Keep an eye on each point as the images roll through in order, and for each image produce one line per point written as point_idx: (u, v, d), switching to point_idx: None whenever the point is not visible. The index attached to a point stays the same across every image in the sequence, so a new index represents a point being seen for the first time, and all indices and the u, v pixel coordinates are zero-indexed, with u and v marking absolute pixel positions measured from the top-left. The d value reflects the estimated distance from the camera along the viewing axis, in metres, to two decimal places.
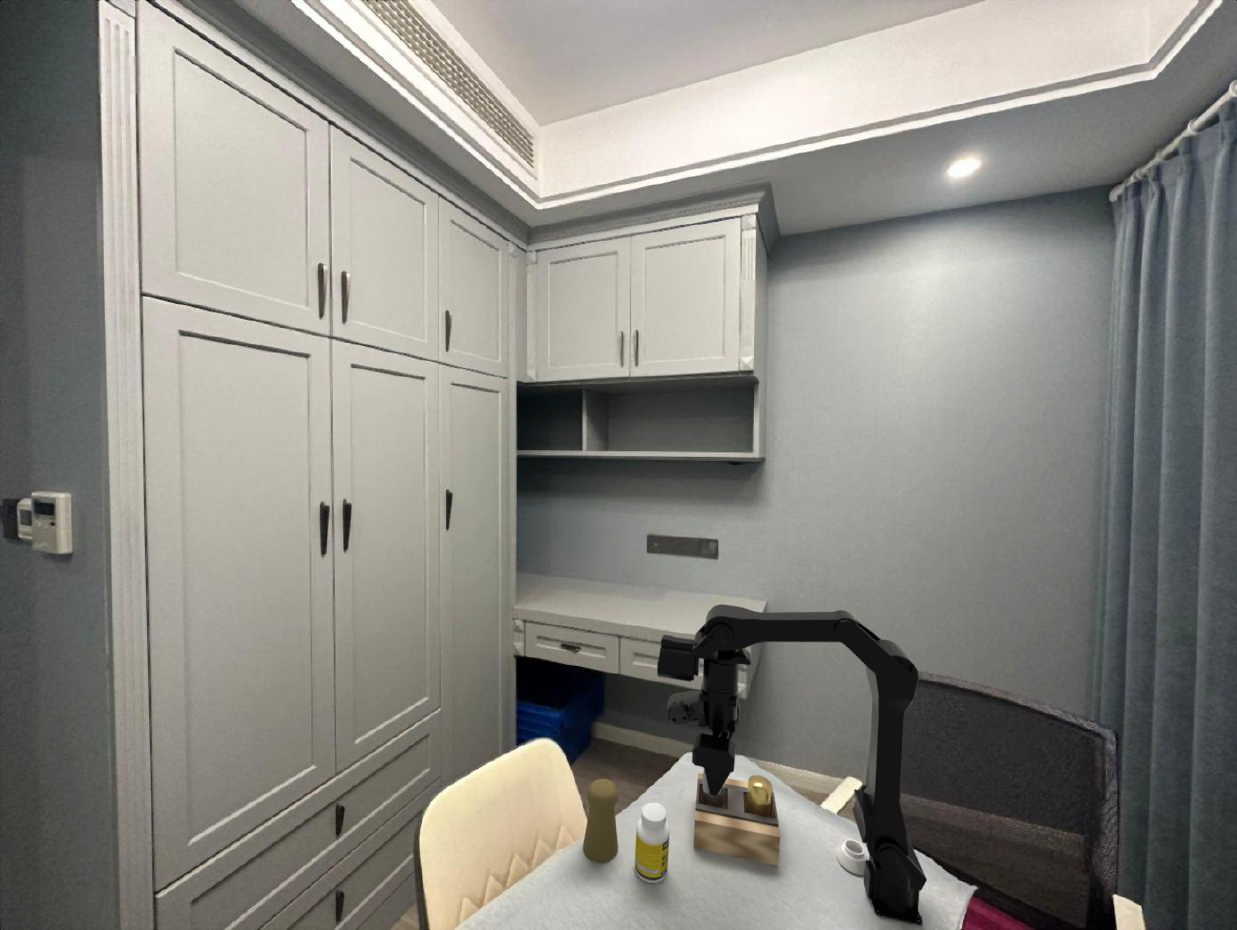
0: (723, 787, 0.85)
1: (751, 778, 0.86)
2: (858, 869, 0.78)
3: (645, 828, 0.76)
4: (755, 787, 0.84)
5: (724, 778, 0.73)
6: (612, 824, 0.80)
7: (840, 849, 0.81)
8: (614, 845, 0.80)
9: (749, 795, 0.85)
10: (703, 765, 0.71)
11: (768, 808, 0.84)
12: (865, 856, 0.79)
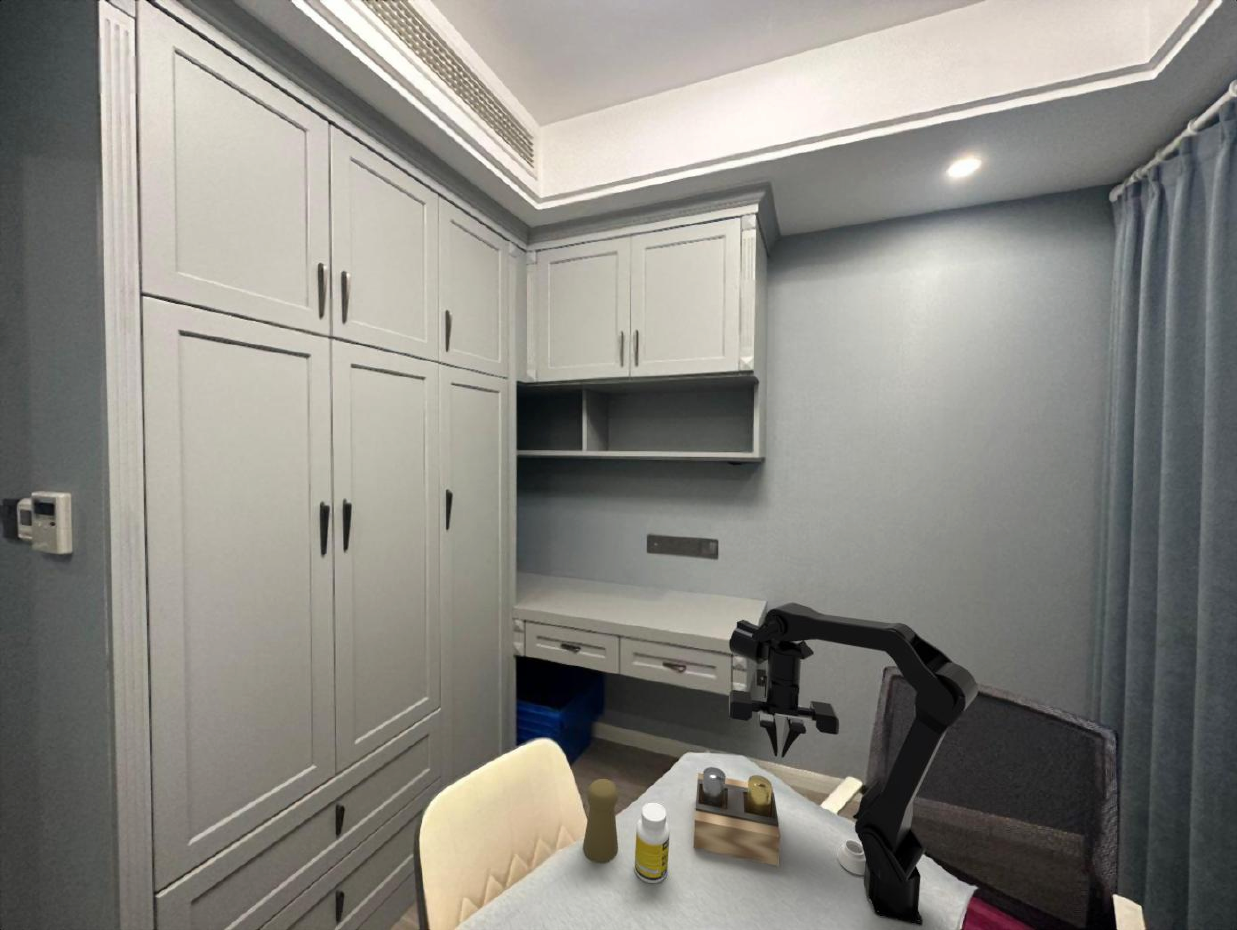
0: (723, 787, 0.85)
1: (751, 778, 0.86)
2: (858, 869, 0.78)
3: (645, 828, 0.76)
4: (755, 787, 0.84)
5: (769, 737, 0.87)
6: (612, 824, 0.80)
7: (840, 849, 0.81)
8: (614, 845, 0.80)
9: (749, 795, 0.85)
10: None
11: (768, 808, 0.84)
12: None
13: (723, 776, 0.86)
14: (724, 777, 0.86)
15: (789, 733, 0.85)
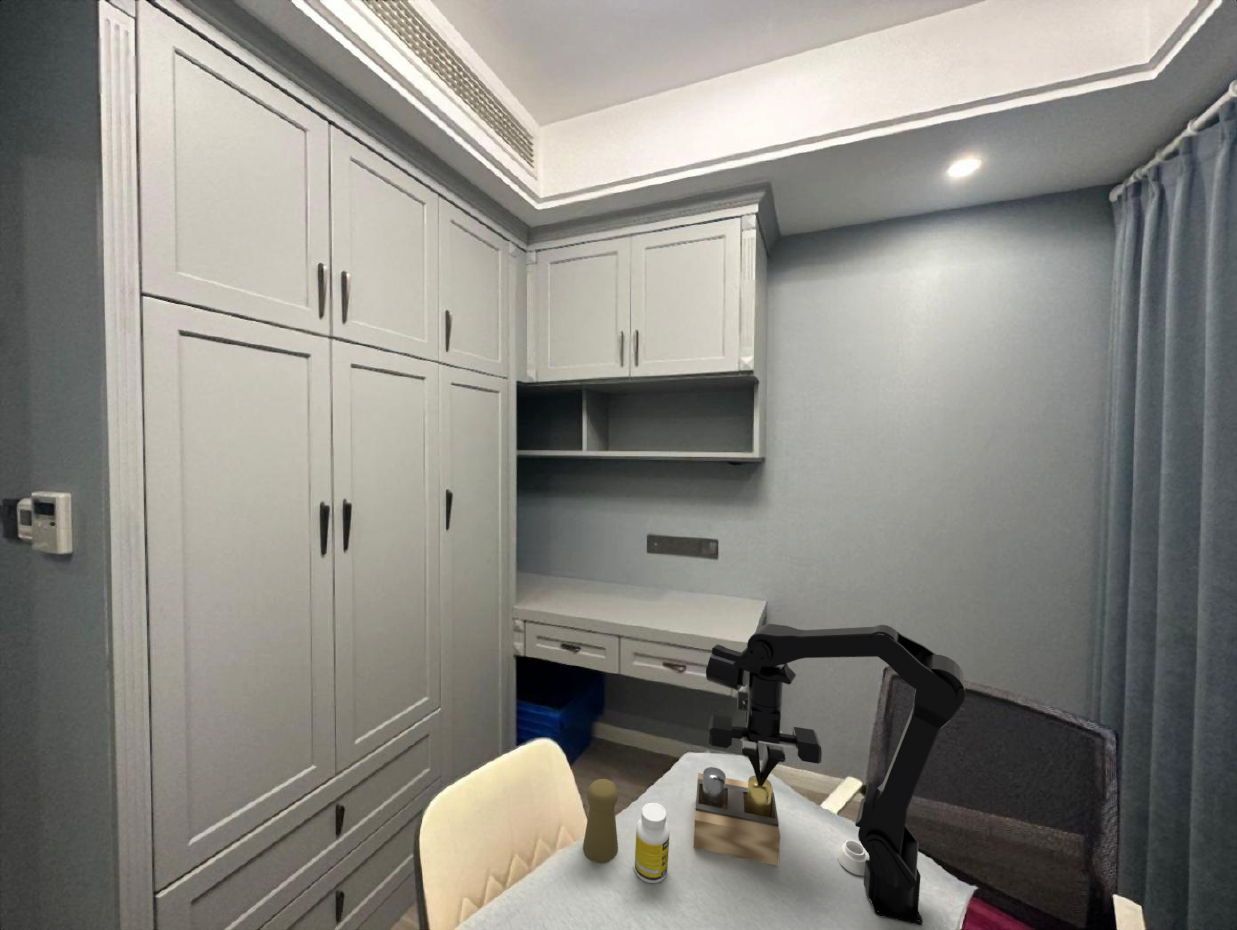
0: (723, 787, 0.85)
1: (751, 778, 0.86)
2: (859, 870, 0.78)
3: (645, 828, 0.76)
4: (755, 788, 0.84)
5: (752, 765, 0.84)
6: (612, 824, 0.80)
7: (841, 850, 0.81)
8: (614, 845, 0.80)
9: (749, 795, 0.85)
10: None
11: (768, 808, 0.84)
12: (866, 857, 0.79)
13: (723, 776, 0.86)
14: (724, 777, 0.86)
15: (768, 761, 0.82)
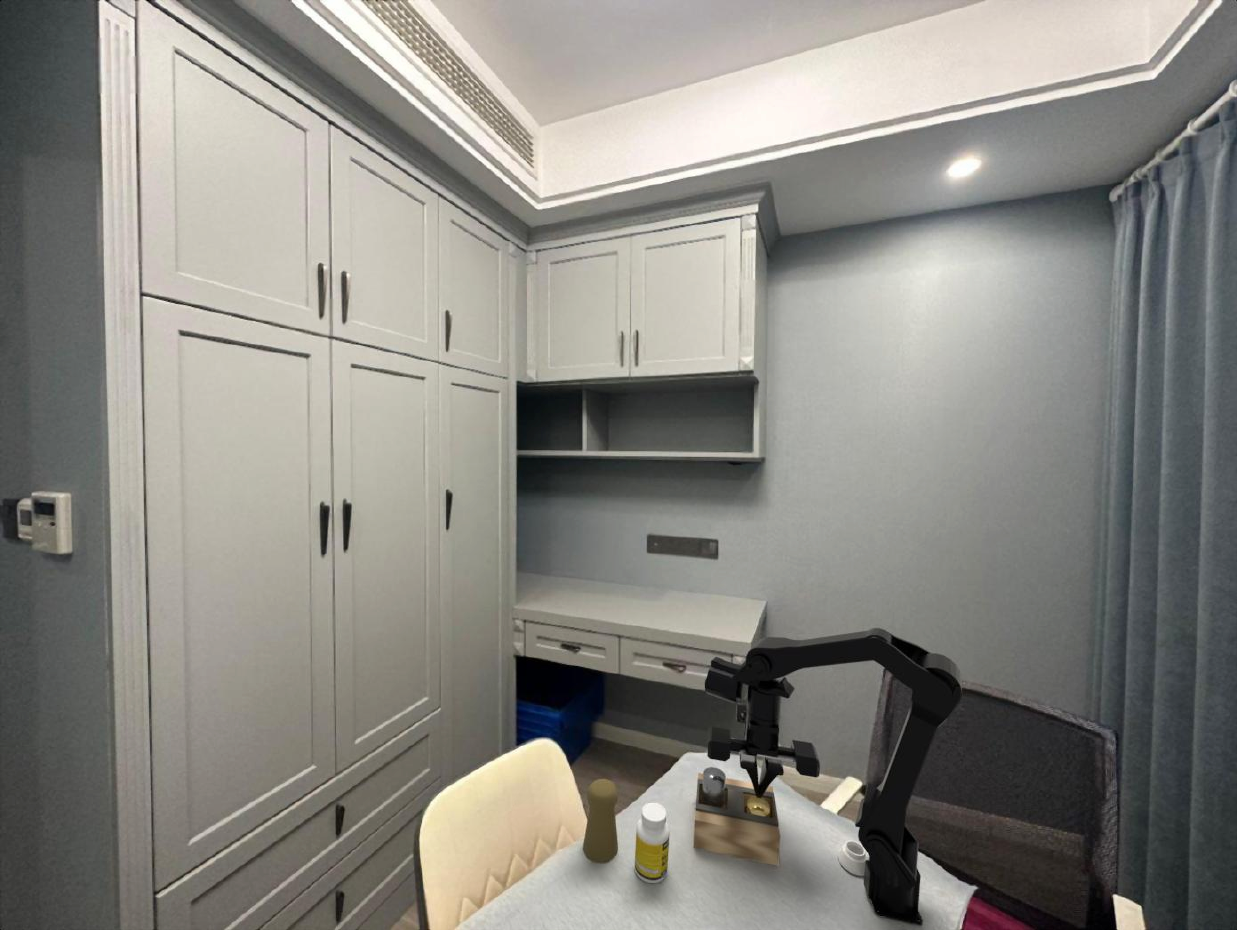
0: (723, 787, 0.85)
1: (750, 800, 0.86)
2: (859, 870, 0.78)
3: (645, 828, 0.76)
4: (754, 810, 0.84)
5: (751, 779, 0.84)
6: (612, 824, 0.80)
7: (841, 850, 0.81)
8: (614, 845, 0.80)
9: None
10: None
11: None
12: (866, 857, 0.79)
13: (723, 776, 0.86)
14: (724, 777, 0.86)
15: (766, 774, 0.82)
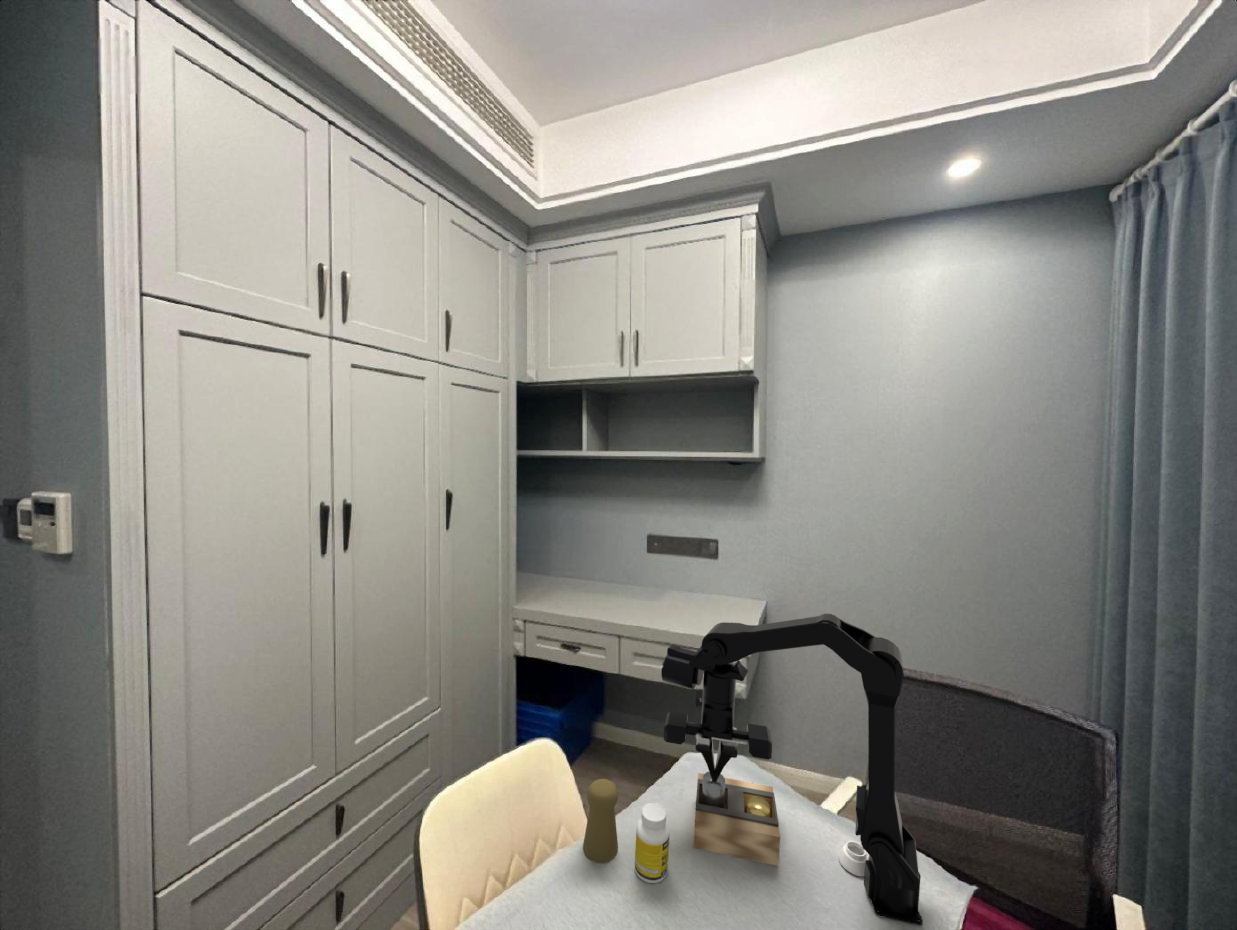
0: (723, 791, 0.85)
1: (750, 800, 0.86)
2: (860, 871, 0.78)
3: (645, 828, 0.76)
4: (754, 810, 0.84)
5: (706, 761, 0.85)
6: (612, 824, 0.80)
7: (842, 851, 0.81)
8: (614, 845, 0.80)
9: None
10: None
11: None
12: (867, 858, 0.79)
13: (722, 781, 0.86)
14: (724, 781, 0.86)
15: (720, 757, 0.84)
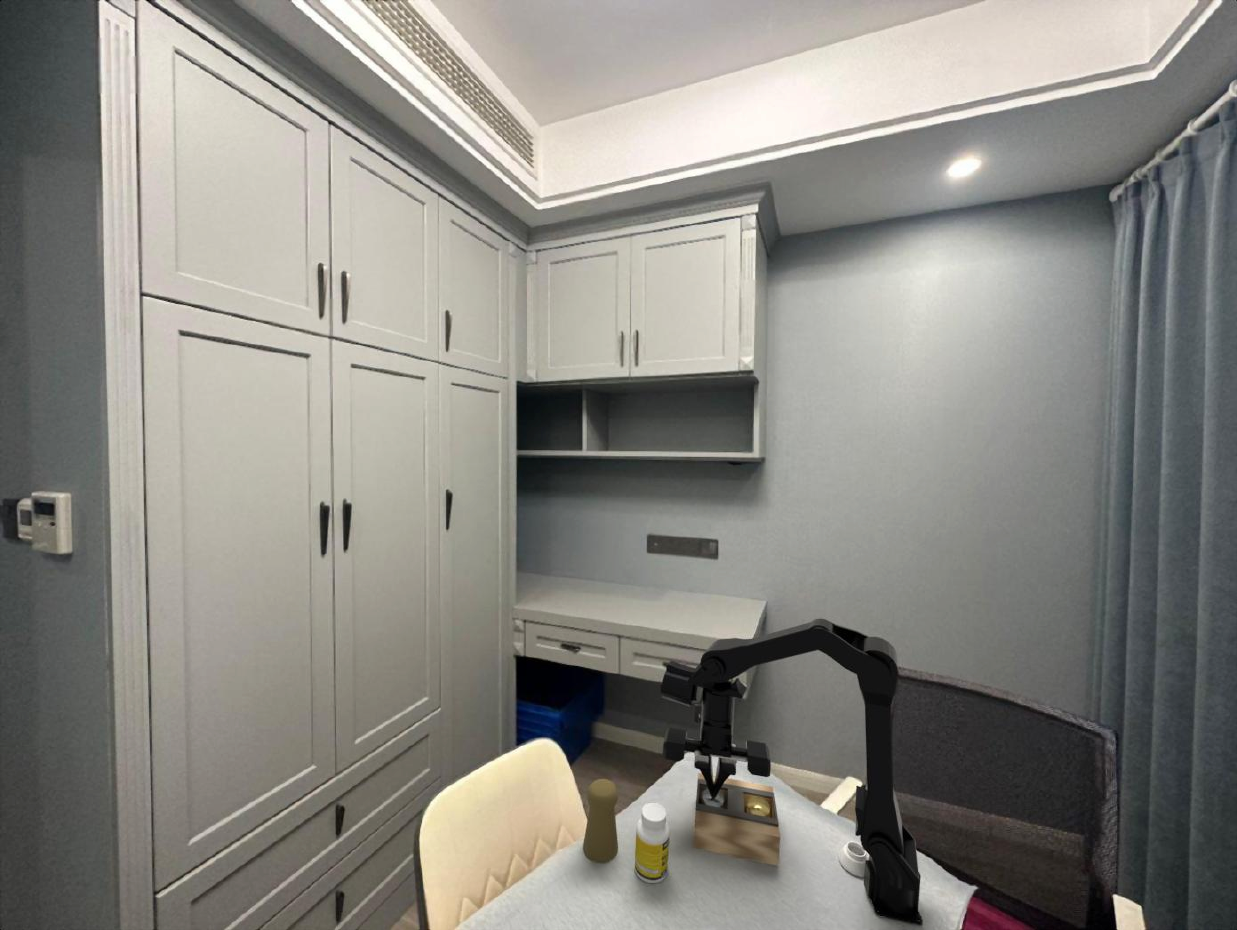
0: None
1: (750, 800, 0.86)
2: (860, 871, 0.78)
3: (645, 828, 0.76)
4: (754, 810, 0.84)
5: (705, 778, 0.85)
6: (612, 824, 0.80)
7: (842, 851, 0.81)
8: (614, 845, 0.80)
9: None
10: None
11: None
12: (867, 858, 0.79)
13: (721, 798, 0.86)
14: (723, 799, 0.86)
15: (719, 774, 0.84)
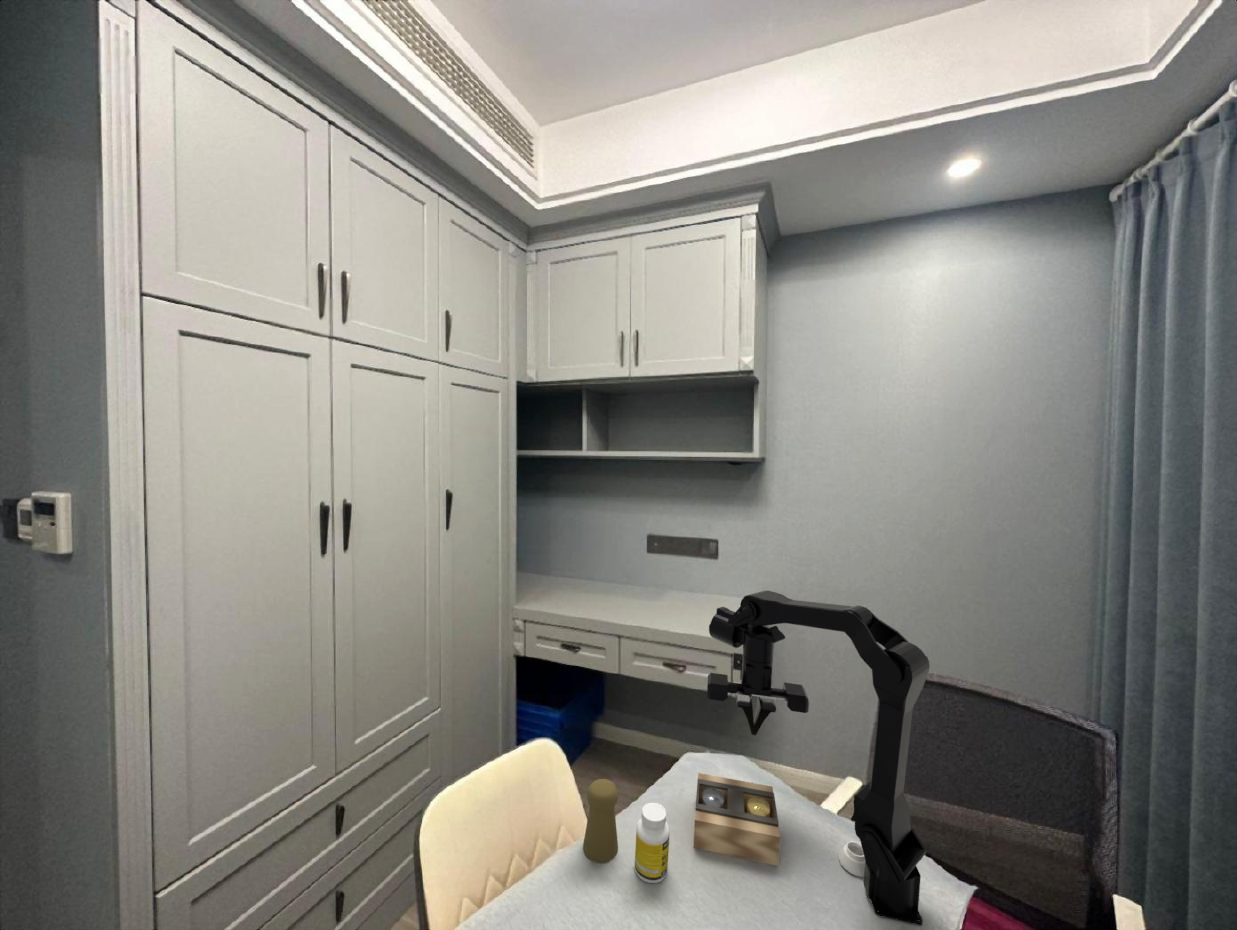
0: None
1: (750, 800, 0.86)
2: (860, 871, 0.78)
3: (645, 828, 0.76)
4: (754, 810, 0.84)
5: None
6: (612, 824, 0.80)
7: (842, 851, 0.81)
8: (614, 845, 0.80)
9: None
10: None
11: None
12: None
13: (721, 798, 0.86)
14: (723, 799, 0.86)
15: (760, 712, 0.90)
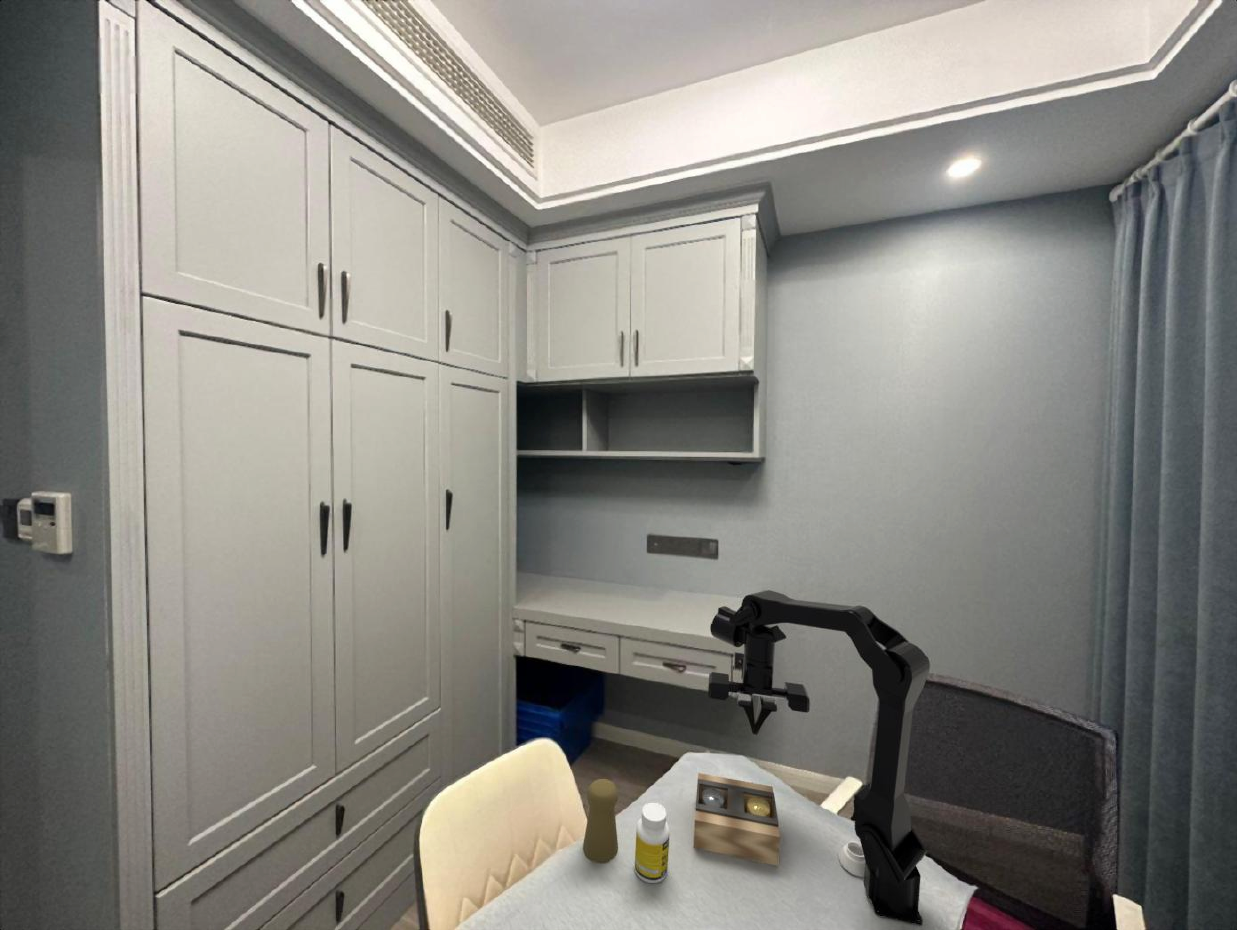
0: None
1: (750, 800, 0.86)
2: (860, 871, 0.78)
3: (645, 828, 0.76)
4: (754, 810, 0.84)
5: (747, 716, 0.92)
6: (612, 824, 0.80)
7: (842, 851, 0.81)
8: (614, 845, 0.80)
9: None
10: None
11: None
12: None
13: (721, 798, 0.86)
14: (723, 799, 0.86)
15: (761, 711, 0.91)
